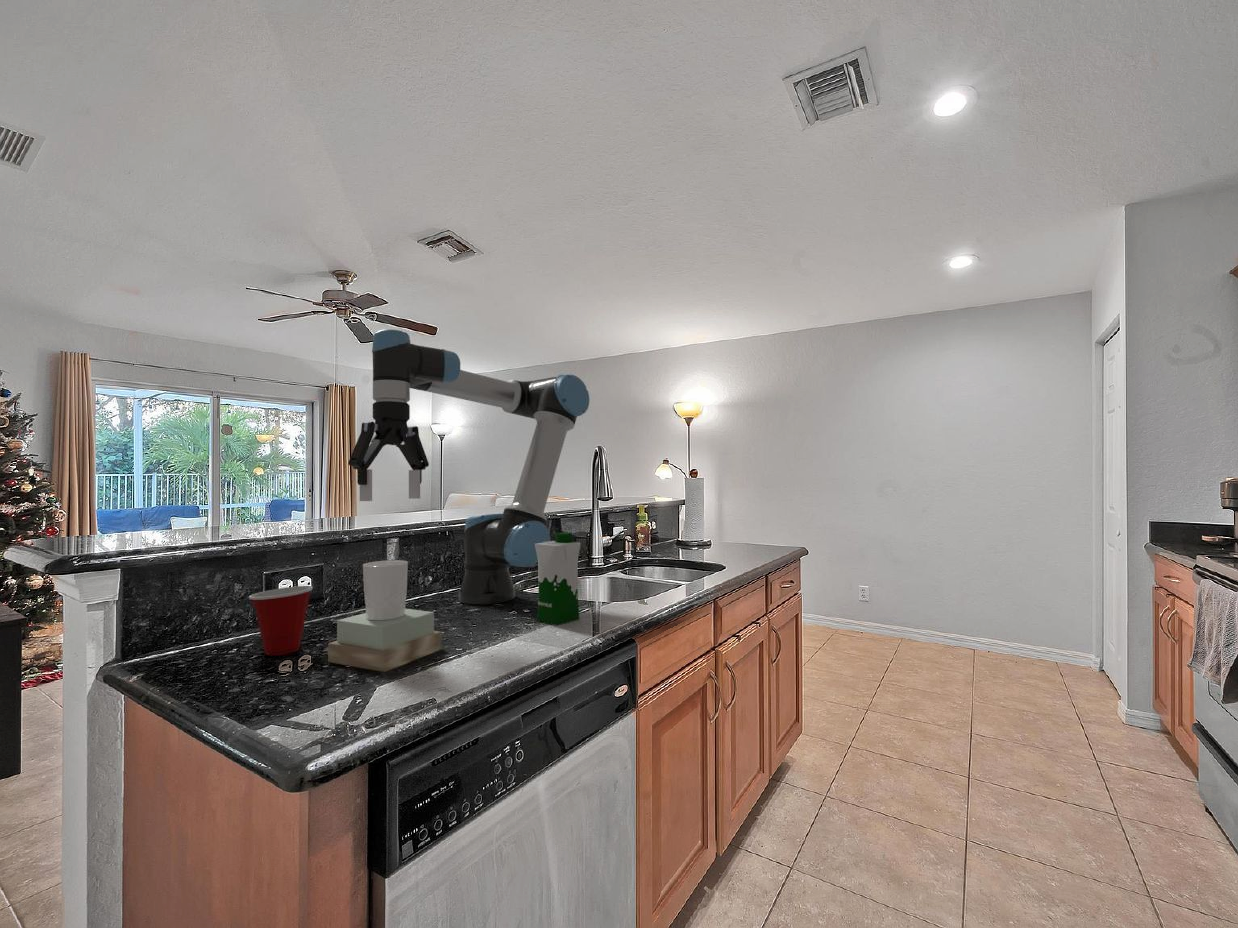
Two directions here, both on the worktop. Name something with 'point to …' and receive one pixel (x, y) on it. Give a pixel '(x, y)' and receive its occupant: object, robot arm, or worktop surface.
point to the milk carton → (558, 580)
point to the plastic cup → (281, 618)
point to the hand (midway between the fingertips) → (391, 499)
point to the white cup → (385, 589)
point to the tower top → (385, 629)
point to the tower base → (383, 653)
